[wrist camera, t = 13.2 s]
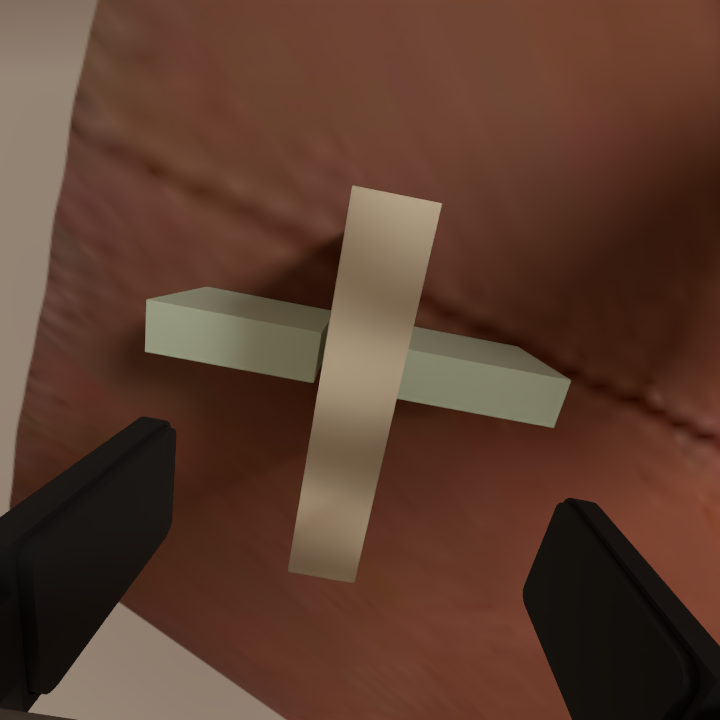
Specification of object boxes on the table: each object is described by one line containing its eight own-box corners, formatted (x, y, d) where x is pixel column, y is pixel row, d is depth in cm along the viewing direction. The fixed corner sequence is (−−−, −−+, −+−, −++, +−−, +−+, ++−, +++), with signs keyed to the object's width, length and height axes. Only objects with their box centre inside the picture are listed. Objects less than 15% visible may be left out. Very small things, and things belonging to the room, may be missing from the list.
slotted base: (517, 346, 29) (571, 380, 21) (506, 382, 30) (553, 427, 22) (207, 286, 28) (146, 299, 21) (204, 325, 29) (144, 351, 21)
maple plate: (361, 221, 27) (352, 185, 12) (402, 229, 27) (442, 203, 12) (325, 423, 31) (287, 571, 17) (361, 430, 31) (353, 583, 17)
